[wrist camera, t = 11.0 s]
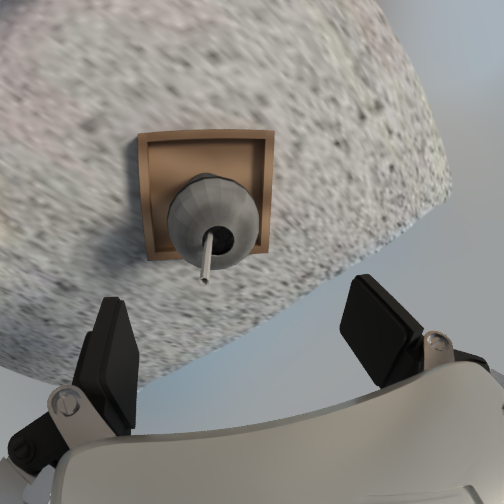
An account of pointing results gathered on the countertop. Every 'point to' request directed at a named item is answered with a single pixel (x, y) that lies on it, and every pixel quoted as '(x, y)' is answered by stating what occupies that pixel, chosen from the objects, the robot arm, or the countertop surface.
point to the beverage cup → (213, 223)
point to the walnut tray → (193, 163)
